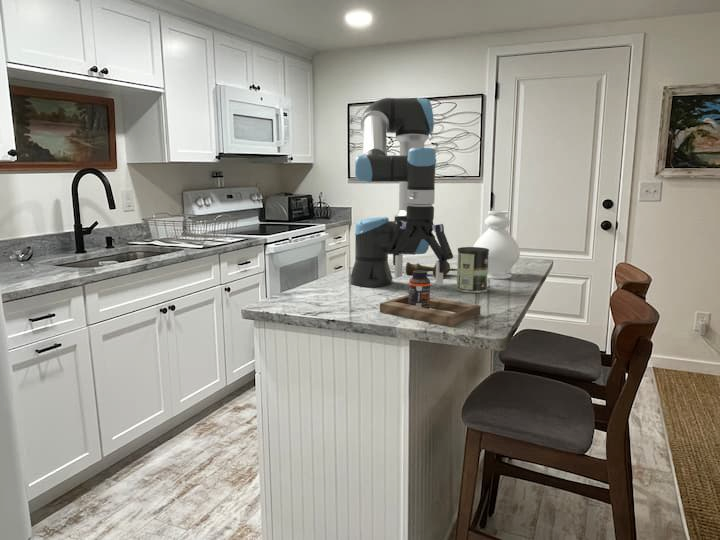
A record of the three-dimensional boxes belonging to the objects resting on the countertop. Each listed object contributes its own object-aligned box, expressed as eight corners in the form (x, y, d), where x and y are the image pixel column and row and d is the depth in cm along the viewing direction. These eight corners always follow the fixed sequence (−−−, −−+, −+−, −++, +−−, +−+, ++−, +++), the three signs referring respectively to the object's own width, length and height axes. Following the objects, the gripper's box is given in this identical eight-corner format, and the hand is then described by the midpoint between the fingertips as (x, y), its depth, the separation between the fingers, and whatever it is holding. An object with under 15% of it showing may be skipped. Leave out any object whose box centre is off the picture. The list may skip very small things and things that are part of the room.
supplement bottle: (423, 314, 146) (424, 273, 144) (404, 311, 150) (405, 271, 148) (432, 309, 151) (434, 270, 149) (414, 306, 154) (415, 268, 152)
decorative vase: (490, 281, 193) (493, 213, 189) (462, 273, 209) (464, 210, 205) (528, 278, 200) (532, 212, 196) (498, 270, 216) (501, 209, 212)
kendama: (408, 273, 212) (458, 274, 207) (403, 278, 203) (456, 280, 198) (408, 258, 211) (458, 259, 206) (403, 263, 202) (456, 264, 196)
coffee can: (486, 287, 183) (488, 247, 181) (487, 293, 174) (489, 251, 171) (456, 286, 185) (458, 246, 183) (455, 292, 176) (457, 250, 173)
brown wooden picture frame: (379, 311, 149) (379, 303, 149) (411, 301, 162) (411, 293, 161) (451, 326, 135) (452, 317, 135) (480, 314, 148) (480, 305, 147)
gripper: (376, 203, 150) (375, 276, 155) (453, 208, 135) (450, 289, 139) (391, 202, 156) (390, 272, 160) (467, 206, 141) (464, 284, 145)
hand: (418, 280), depth 150 cm, fingers open, 13 cm apart
